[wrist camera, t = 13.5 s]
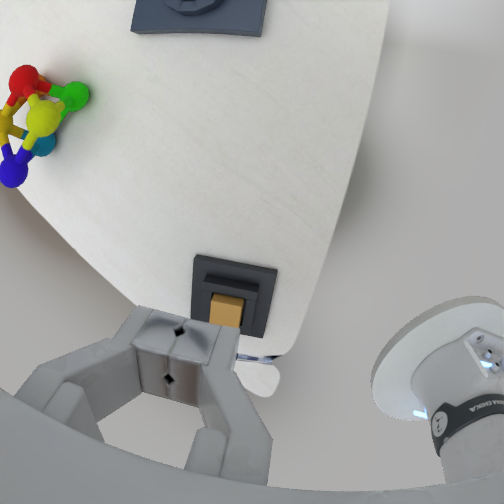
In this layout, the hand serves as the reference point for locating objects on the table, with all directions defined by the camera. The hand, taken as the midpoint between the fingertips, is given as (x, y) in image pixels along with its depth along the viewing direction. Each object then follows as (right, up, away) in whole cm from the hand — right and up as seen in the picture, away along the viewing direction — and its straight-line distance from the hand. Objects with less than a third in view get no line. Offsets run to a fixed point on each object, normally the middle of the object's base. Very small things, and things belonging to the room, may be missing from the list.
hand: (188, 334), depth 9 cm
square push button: (-1, -3, +32) cm, 32 cm away
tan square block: (-1, -4, +30) cm, 30 cm away
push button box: (-3, +30, +16) cm, 35 cm away
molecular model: (-23, +20, +24) cm, 39 cm away
